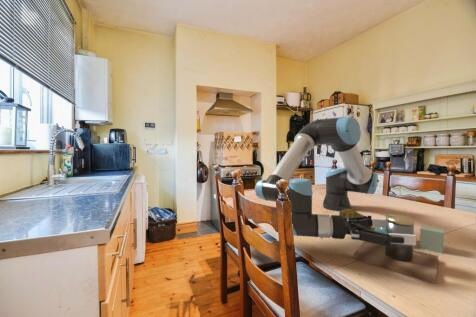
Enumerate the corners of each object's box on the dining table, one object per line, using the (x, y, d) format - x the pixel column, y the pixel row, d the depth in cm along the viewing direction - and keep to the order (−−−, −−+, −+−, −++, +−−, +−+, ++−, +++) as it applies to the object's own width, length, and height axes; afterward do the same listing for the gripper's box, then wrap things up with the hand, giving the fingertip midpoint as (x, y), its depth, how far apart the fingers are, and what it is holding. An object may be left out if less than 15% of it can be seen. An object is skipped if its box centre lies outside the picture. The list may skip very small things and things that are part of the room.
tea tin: (382, 256, 70) (383, 218, 69) (387, 248, 75) (388, 212, 74) (411, 264, 65) (413, 223, 64) (414, 255, 70) (415, 217, 69)
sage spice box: (419, 248, 79) (420, 228, 78) (421, 243, 82) (421, 225, 82) (442, 253, 74) (443, 233, 74) (443, 248, 78) (443, 228, 78)
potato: (370, 233, 92) (370, 214, 92) (337, 227, 100) (337, 209, 99) (373, 227, 98) (373, 209, 98) (342, 222, 106) (342, 205, 106)
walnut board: (353, 258, 72) (353, 253, 72) (366, 242, 83) (366, 238, 83) (435, 284, 58) (435, 278, 58) (438, 260, 70) (438, 256, 70)
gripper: (325, 224, 86) (386, 228, 82) (338, 255, 62) (427, 263, 57) (325, 205, 86) (386, 208, 81) (338, 228, 62) (427, 234, 57)
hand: (403, 231), depth 69 cm, fingers open, 13 cm apart
